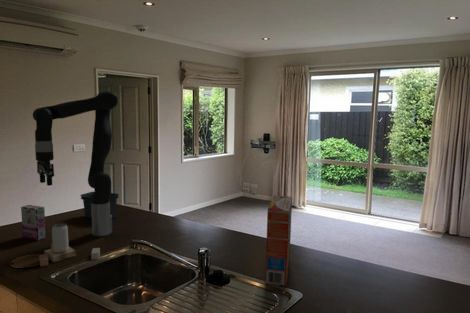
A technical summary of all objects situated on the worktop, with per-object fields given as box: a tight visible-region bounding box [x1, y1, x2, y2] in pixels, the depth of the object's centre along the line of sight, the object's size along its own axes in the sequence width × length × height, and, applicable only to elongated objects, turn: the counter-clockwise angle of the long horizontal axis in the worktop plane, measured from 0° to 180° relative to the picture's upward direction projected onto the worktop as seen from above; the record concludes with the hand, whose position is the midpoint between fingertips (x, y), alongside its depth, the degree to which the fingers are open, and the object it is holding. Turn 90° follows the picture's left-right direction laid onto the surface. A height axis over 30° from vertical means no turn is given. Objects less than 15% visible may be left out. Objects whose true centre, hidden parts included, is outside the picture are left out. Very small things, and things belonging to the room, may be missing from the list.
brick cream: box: [90, 247, 101, 260], centre depth 164 cm, size 6×3×3 cm
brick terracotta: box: [38, 253, 49, 267], centre depth 156 cm, size 6×3×3 cm, turn 32°
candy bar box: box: [20, 204, 47, 241], centre depth 184 cm, size 11×5×16 cm, turn 68°
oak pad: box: [43, 246, 77, 263], centre depth 164 cm, size 10×10×2 cm
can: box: [51, 222, 70, 253], centre depth 163 cm, size 6×6×12 cm
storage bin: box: [79, 191, 120, 219], centre depth 221 cm, size 21×16×14 cm
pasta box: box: [264, 195, 293, 287], centre depth 150 cm, size 23×8×30 cm, turn 168°
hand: (46, 183), depth 174 cm, fingers open, 8 cm apart
